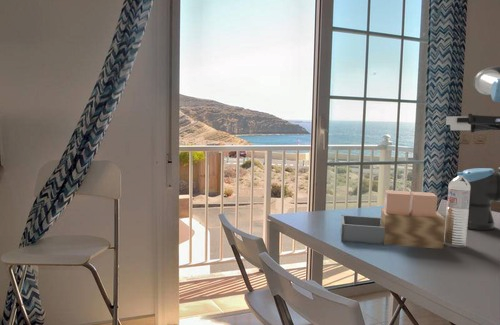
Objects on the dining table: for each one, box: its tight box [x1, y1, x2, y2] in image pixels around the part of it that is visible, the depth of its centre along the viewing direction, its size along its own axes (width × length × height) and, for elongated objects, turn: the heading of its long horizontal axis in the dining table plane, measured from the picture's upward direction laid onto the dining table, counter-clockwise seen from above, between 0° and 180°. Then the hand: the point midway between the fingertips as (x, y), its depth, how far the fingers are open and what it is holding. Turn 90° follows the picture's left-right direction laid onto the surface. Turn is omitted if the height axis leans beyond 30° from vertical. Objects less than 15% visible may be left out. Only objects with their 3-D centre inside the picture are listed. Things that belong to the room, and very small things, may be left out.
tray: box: [340, 214, 385, 246], centre depth 151 cm, size 14×15×6 cm
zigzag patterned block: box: [380, 207, 446, 250], centre depth 147 cm, size 19×12×10 cm, turn 79°
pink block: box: [383, 189, 411, 215], centre depth 147 cm, size 8×7×7 cm
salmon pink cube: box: [409, 190, 438, 217], centre depth 146 cm, size 8×7×7 cm
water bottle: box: [444, 171, 471, 249], centre depth 144 cm, size 7×7×25 cm
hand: (448, 123), depth 147 cm, fingers open, 13 cm apart
